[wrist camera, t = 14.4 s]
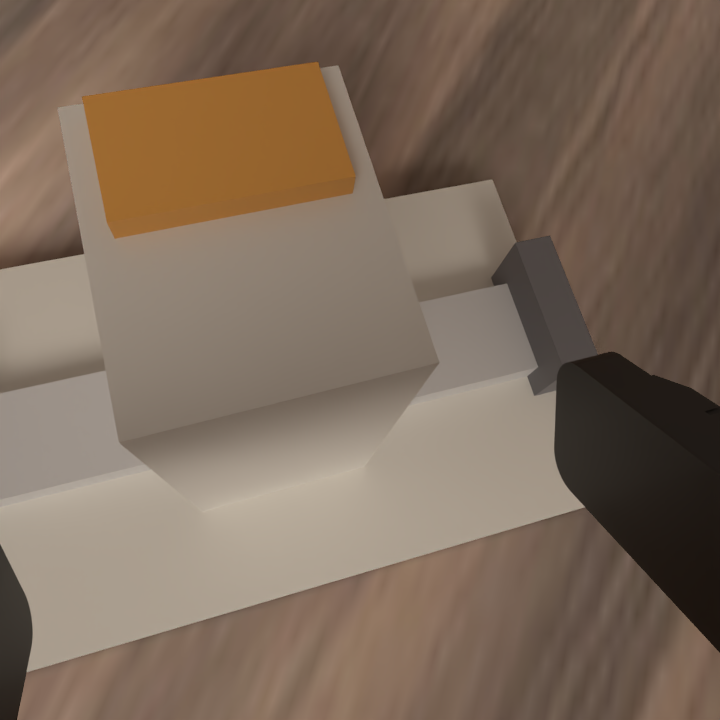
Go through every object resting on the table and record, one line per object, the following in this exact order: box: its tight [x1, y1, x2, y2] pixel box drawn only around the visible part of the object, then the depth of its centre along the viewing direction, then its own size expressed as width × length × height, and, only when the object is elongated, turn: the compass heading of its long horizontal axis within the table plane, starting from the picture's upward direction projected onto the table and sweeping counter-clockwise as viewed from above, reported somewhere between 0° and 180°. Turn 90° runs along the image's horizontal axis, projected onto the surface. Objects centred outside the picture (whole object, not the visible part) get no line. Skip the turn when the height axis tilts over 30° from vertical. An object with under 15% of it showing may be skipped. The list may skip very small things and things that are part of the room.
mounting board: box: [0, 180, 598, 672], centre depth 20 cm, size 20×12×4 cm, turn 105°
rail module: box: [58, 62, 440, 512], centre depth 15 cm, size 5×6×11 cm
